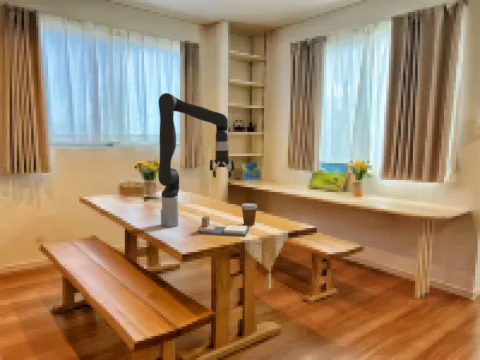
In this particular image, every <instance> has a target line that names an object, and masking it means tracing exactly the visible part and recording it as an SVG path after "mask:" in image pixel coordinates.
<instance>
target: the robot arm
mask: <svg viewBox="0 0 480 360" xmlns="http://www.w3.org/2000/svg"><path fill="white" fill-rule="evenodd" d="M158 108H159V162H158V163H159V164H158V174H157V175H158V182H159V183H160V185H161V186H164V187H165V188H164V189H163V190H162V191H161V209H160V226H161V227H165V228H174V227H177V226H179V192H180V173H179V171H178V170H177V169H175V168H171V167H172V160H173V159H172V158H173V156H174V154H175V151H176V148H177V132H176V127H175V122H174V121H175V119H174V113H175V112H178V113H182V114H185V115H188V116H190V117H192V118H195V119H197V120H200V121H203V122H205V123H207V122H208V123H210V124H212V125H215V145H214V146H215V148H214V149H215V154H214V155H215V159H210V161H209V171H212V177H214V179H215V178H217V169H218V168H226V169H227V171H228V172H227V173H228V174H227V176H228V177H227V178H228V179H230V178H231V177H232V171H235V170H236V168H235V166H236V165H235V159H230V157H229V156H230V155H229V154H230V153H229V152H230V151H229V150H230V149H229V133H228V130H229V118H228V116H227V115H226V114H224V113H221V112H217V111H214V110H211V109H209V108H206V107H203V106H200V105H196V104H191V103H189V102H186V101H183V100H181V99H179V98H177V97H176V96H174V95H173V94H172V93H168V92H165V93H162V94H161V95H160V96H159V98H158ZM214 164H215V166H214ZM229 164H230V165H229ZM230 166H231V167H230Z"/></svg>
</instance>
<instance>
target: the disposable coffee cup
mask: <svg viewBox="0 0 480 360" xmlns="http://www.w3.org/2000/svg"><path fill="white" fill-rule="evenodd" d="M257 208H258V205H257V203H253V202H245V203H242V204H241V210H242V211H241V212H242V220H243V226H247V227H248V226H249V227H250V226H252V227H253V226H254V225H255V223H256V215H257Z"/></svg>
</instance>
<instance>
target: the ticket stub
mask: <svg viewBox="0 0 480 360" xmlns="http://www.w3.org/2000/svg"><path fill="white" fill-rule="evenodd" d="M217 226H218V225H217V224H216V223H214V224H213V223H210V216H207V215H204V216H203V217H201V225H200V226H198V228H197V231H198V232H202V231H208V232H212V231H213V230H214V229H215V228H216V227H217Z"/></svg>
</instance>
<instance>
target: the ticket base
mask: <svg viewBox="0 0 480 360" xmlns="http://www.w3.org/2000/svg"><path fill="white" fill-rule="evenodd" d="M249 231H250V228H249V227H248V226H247V225H237V224H236V225H235V224H228V225H225V226H220V225H219V226H218V225H217V227H216V228H215V229H214V230H213V231H212V232H208V231H200V233H201V235H212V236H213V235H214V236H217V235H218V236H229V237H230V236H231V237H232V236H233V237H246V236H247V235H248V233H249Z"/></svg>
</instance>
